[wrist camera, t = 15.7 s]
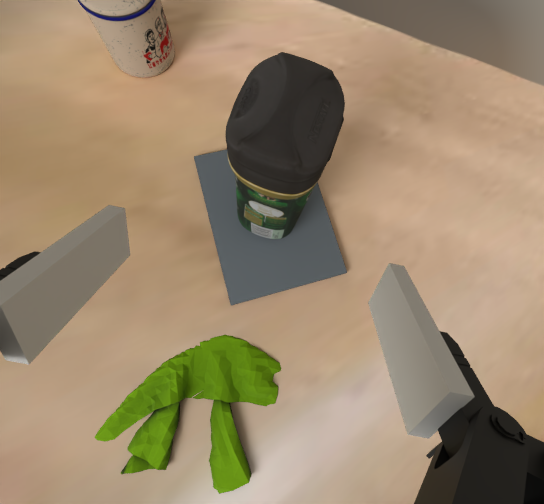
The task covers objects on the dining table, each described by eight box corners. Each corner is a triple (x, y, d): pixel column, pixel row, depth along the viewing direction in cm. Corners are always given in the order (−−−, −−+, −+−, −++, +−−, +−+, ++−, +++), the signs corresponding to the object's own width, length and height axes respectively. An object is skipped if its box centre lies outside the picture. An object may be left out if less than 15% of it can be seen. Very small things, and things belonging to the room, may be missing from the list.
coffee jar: (254, 162, 37) (258, 23, 19) (310, 182, 37) (367, 62, 19) (228, 227, 35) (204, 142, 17) (287, 249, 35) (326, 186, 17)
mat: (194, 158, 37) (193, 156, 37) (300, 136, 39) (301, 133, 38) (231, 305, 34) (230, 305, 33) (345, 273, 36) (347, 272, 35)
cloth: (296, 343, 34) (299, 345, 32) (263, 553, 30) (264, 574, 27) (130, 312, 34) (121, 313, 31) (71, 523, 29) (55, 542, 27)
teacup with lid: (164, 88, 39) (129, -3, 28) (101, 70, 39) (39, -29, 27) (191, 22, 42) (169, -86, 30) (132, 5, 41) (87, -110, 30)
